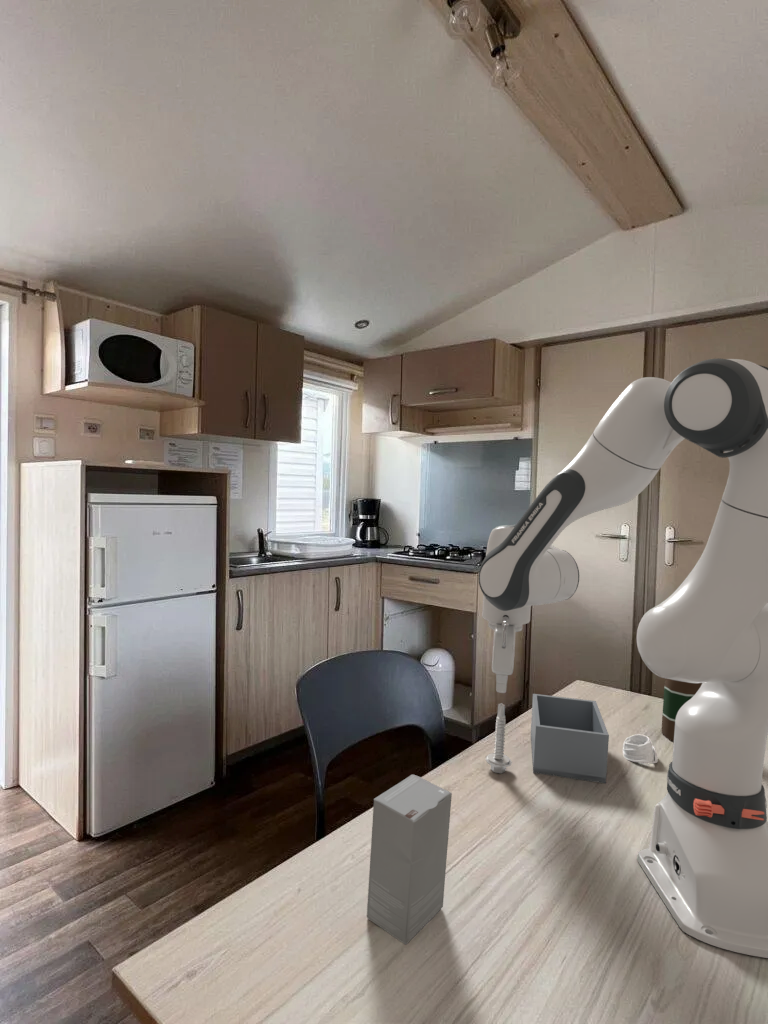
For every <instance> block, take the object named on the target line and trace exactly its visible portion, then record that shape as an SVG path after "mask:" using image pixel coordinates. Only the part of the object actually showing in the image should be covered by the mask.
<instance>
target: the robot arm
mask: <svg viewBox="0 0 768 1024" xmlns="http://www.w3.org/2000/svg"><path fill="white" fill-rule="evenodd" d="M610 405H611V406H610V407H609V408H608V409H607V411H606V412H605V414H604V415H603V417H602V418H601V419H600V421H599V422H598V424H597V425H596V426H595V428H594V430H593V431H592V434H591V435H590V436H589V438H588V440H587V441H586V442H585V444H584V445H583V446H582V448H581V450H580V451H578V453H577V454H576V455H575V456H574V457H573V459H572V460H571V461H570V462H569V463H568V464H567V465H566V466H565V467H564V468H563V469H562V470H561V471H560V472H558V473H557V474H556V475H555V476H554V477H553V478H552V479H550V480H549V482H548V483H547V484H546V485H545V486H544V487H543V489H542V490H541V492H539V494H538V495H537V496H536V497H535V499H534V500H533V501H532V503H531V504H530V506H529V507H528V508H527V510H526V511H525V512H524V514H523V515H522V517H520V520H519V521H518V522H517V523H516V524H511V525H509V524H505V525H498V526H495V528H493V529H492V530H491V532H490V534H489V537H488V540H487V545H486V550H485V557H484V559H483V560H482V563H481V565H480V568H479V571H478V585H479V589H480V591H481V592H482V594H483V595H482V608H481V609H482V612H481V618H482V619H484V620H485V621H487V622H488V623H487V624H488V626H487V627H488V628H489V629H491V630H493V631H494V632H493V645H492V659H491V660H492V661H491V671H492V673H494V674H495V682H496V683H495V684H496V685H495V690H496V692H497V693H500V694H505V693H506V692H507V686H508V685H507V684H508V678H509V676H512V675H513V672H514V664H515V663H514V662H515V648H516V633H518V632H522V630H523V625H526V624H529V623H530V622H531V612H532V611H531V610H532V606H541V605H546V604H554V603H555V604H556V603H560V602H565V601H567V600H570V598H572V597H573V596H574V595H575V593H576V592H577V589H578V587H579V582H580V569H579V566H578V562H576V559H575V558H574V556H573V555H571V553H570V552H568V551H567V550H564V549H560V548H558V547H556V546H554V545H553V544H554V542H555V541H557V540H556V539H558V537H559V536H560V535H561V533H562V532H563V531H564V530H566V528H568V527H569V526H570V525H571V524H573V523H574V522H576V521H577V520H579V519H581V518H582V519H583V518H584V517H587V516H589V515H591V514H595V513H598V512H601V511H604V510H606V509H611V508H614V507H615V508H616V507H619V506H622V505H625V504H627V503H629V502H631V501H633V500H635V498H636V497H638V496H639V494H641V493H642V492H643V491H644V490H645V489H646V488H647V487H648V485H650V484H651V482H652V481H653V479H654V478H655V477H656V475H658V473H659V471H660V469H661V468H662V466H663V465H664V463H665V462H666V460H667V459H668V457H669V456H670V455H671V454H672V452H673V451H674V449H675V448H676V447H677V446H678V445H679V444H680V443H681V442H682V441H684V440H687V441H689V442H690V443H692V444H694V445H696V446H698V447H700V448H702V449H704V450H706V451H707V452H709V453H710V454H712V455H715V456H716V457H718V458H722V459H723V458H727V459H728V461H729V472H728V476H727V480H726V485H725V488H724V490H723V494H722V496H721V500H720V503H719V506H718V509H717V512H716V515H715V517H714V522H713V524H712V527H711V530H710V534H709V537H708V540H707V542H706V545H705V547H704V549H703V552H702V553H701V556H700V557H699V559H698V560H697V562H696V563H695V566H694V567H693V568H692V569H691V571H690V572H689V573H688V574H687V576H686V577H685V579H684V580H683V581H682V583H681V584H680V585H678V587H677V588H676V589H675V590H674V591H673V592H672V594H670V595H669V596H668V597H667V598H666V599H664V600H663V601H662V602H660V603H659V604H657V605H655V606H653V607H652V608H650V609H649V610H647V611H646V612H645V613H644V614H643V616H642V617H641V618H640V622H639V623H638V627H637V630H636V646H637V651H638V653H639V655H640V657H641V660H642V661H643V662H644V664H645V666H646V667H647V668H648V669H649V671H650V672H651V673H653V674H654V675H656V676H658V677H659V678H662V679H671V680H676V681H682V682H688V683H702V685H701V687H700V688H699V690H698V691H697V692H696V694H695V695H694V696H693V697H692V698H691V699H690V700H688V701H687V702H686V703H685V704H684V705H683V706H682V707H681V708H680V709H679V711H678V713H677V715H676V719H675V732H674V741H673V746H672V747H673V750H672V760H671V762H670V763H669V765H668V770H667V772H666V790H667V793H666V794H665V796H664V797H663V798H662V799H661V800H660V801H659V802H657V803H656V804H655V806H654V809H653V815H652V823H651V824H652V825H651V831H650V839H649V840H650V841H649V847H647V848H643V849H641V850H639V851H637V857H636V860H637V862H638V864H639V866H641V869H642V870H643V872H644V873H645V875H646V876H647V878H648V880H649V881H650V883H651V885H652V886H653V887H654V889H655V890H656V892H657V894H658V895H659V898H661V900H662V901H663V904H664V905H665V906H666V908H667V909H668V911H669V913H670V915H671V916H672V918H673V919H674V921H675V922H676V923H677V925H678V926H679V928H680V929H681V930H682V932H683V933H685V934H687V935H689V936H690V937H692V938H694V939H695V940H696V939H697V940H698V941H701V942H703V943H705V944H708V945H711V946H714V947H716V948H719V949H723V950H727V951H730V952H734V953H738V954H743V955H749V956H753V957H759V958H764V959H765V958H766V959H768V820H767V819H768V816H767V807H768V805H767V798H766V791H765V790H766V789H765V787H764V785H763V773H764V772H763V771H764V763H765V756H766V755H765V753H766V747H767V740H768V367H767V366H764V365H761V364H757V363H755V362H753V361H750V360H745V359H739V358H709V359H705V360H702V361H698V362H696V363H693V364H692V365H690V366H688V367H686V368H685V369H683V370H682V371H681V372H680V373H679V374H677V376H675V377H674V379H673V380H672V381H669V380H666V379H664V378H662V377H661V378H660V377H653V376H647V377H640V378H638V379H636V380H634V381H632V382H630V384H629V385H628V386H627V387H626V388H625V389H624V390H623V391H622V392H621V393H620V395H619V396H618V397H617V398H616V399H615V400H614V402H613V403H612V404H610Z"/></svg>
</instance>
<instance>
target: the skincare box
mask: <svg viewBox="0 0 768 1024" xmlns="http://www.w3.org/2000/svg"><path fill="white" fill-rule="evenodd" d="M452 795H453V793H452V792H451V791H449V790H446V789H444V788H443V787H441V786H438V785H436V784H434V783H432V782H431V781H428V780H427V779H424V778H423V777H421V776H418V775H415V774H414V773H413V774H410V775H409V776H407V777H406V778H405V779H403V780H401V781H399V782H398V783H397V784H395V785H393V786H392V787H390V788H389V789H387V790H386V791H384V792H382V793H381V794H379V795H378V796H376V797H375V798H373V809H372V811H373V812H372V826H371V842H370V857H369V858H370V859H369V874H368V888H367V903H366V904H367V905H366V906H367V907H366V918H367V919H368V920H369V921H371V922H372V923H374V924H375V925H377V926H378V927H379V928H381V929H382V930H384V931H385V932H387V933H388V934H389V935H391V936H392V937H393V938H395V939H397V940H398V941H399V942H401V943H402V944H404V945H407V944H408V943H409V942H410V941H411V940H412V939H413V938H414V937H415V936H416V935H417V934H419V932H420V931H421V930H422V929H423V928H424V927H425V926H426V925H427V924H428V923H429V922H430V921H431V920H432V919H433V918H434V917H435V916H436V915H437V913H439V911H440V910H441V909H443V907H444V896H445V895H444V894H445V885H446V883H445V881H446V874H447V873H446V871H447V857H448V856H447V855H448V847H449V832H450V822H451V820H450V819H451V810H452V809H451V807H452Z"/></svg>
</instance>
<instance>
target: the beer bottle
mask: <svg viewBox="0 0 768 1024" xmlns="http://www.w3.org/2000/svg"><path fill="white" fill-rule="evenodd" d="M664 679H665V680H664V686H663V688H664V689H663V699H662V700H663V701H662V702H663V704H662V718H661V734H662V735H663V736H664V737H665V738H666V739H667V740H669V741H670V742H671V741H672V742H674V732H675V719H676V715H677V713H678V711H679V709H680V708H681V707H682V706H683V705H684V704H685V703H686V702H687V701H688V700H690V699H691V698H692V697H693V696H694V695H695V694H696V692H697V691H698V690H699V688H700V687H701V685H702V683H688V682H682V681H676V680H671V679H666V678H664Z"/></svg>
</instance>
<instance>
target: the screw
mask: <svg viewBox="0 0 768 1024" xmlns="http://www.w3.org/2000/svg"><path fill="white" fill-rule="evenodd" d="M505 712H506V705H505V704H503V702H501V703H498V704H497V716H496V719H495V721H496V722H495V732H494V733H495V735H494V737H495V738H494V747H493V748H494V750H493V752H490V753H489V754H487V755H486V756H485V761H486V763H487V764H489V765H490V770H491V771H492V772H493V773H495V774H503V773H504V772H506V770H507V769H506V768H507V767H510V766H511V765H512V763H513V761H512V759H511V758H510V757H509V756H508V755H506V754H505V753H504V752H505V750H504V749H505V739H506V738H505V736H506V723H507V722H506V721H507V720H506V715H505V714H506V713H505Z"/></svg>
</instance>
